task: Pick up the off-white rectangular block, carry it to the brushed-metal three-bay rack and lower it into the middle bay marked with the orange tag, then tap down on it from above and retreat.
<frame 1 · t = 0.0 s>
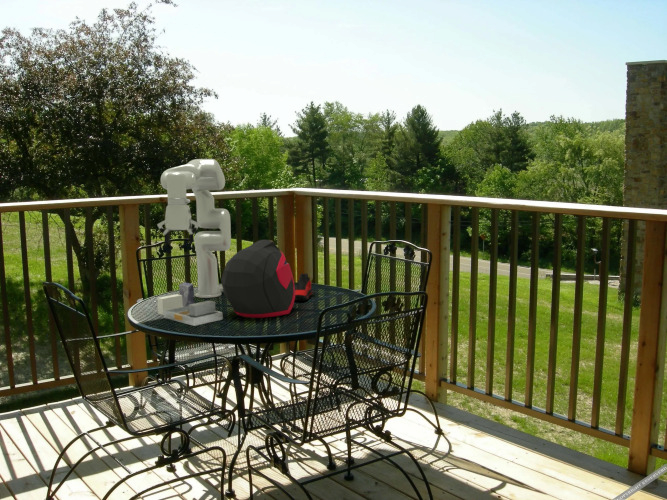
hand: (179, 243, 268), 31 cm above the table, tool pointing down, fingers open, 9 cm apart
athletic shoe: (302, 299, 307), on the table
rock: (185, 305, 296), on the table
rack: (192, 318, 270), on the table
helmet: (258, 313, 278), on the table
off-white rectangular block: (170, 312, 283), on the table
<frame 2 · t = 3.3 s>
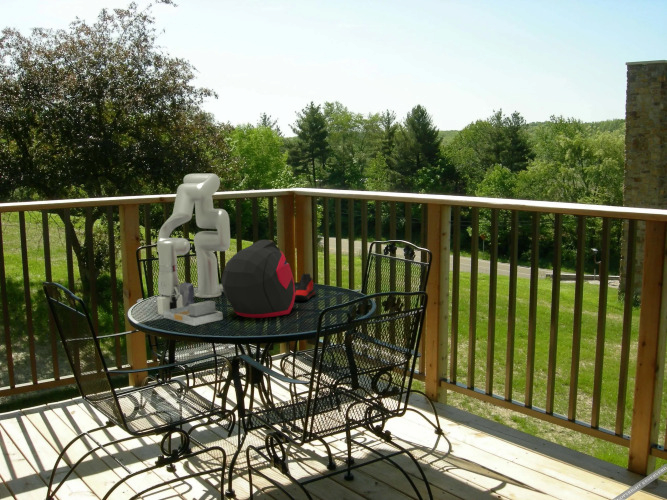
hand: (170, 309, 283), 1 cm above the table, tool pointing down, fingers closed on off-white rectangular block, 4 cm apart
off-white rectangular block: (170, 312, 283), on the table, touching gripper
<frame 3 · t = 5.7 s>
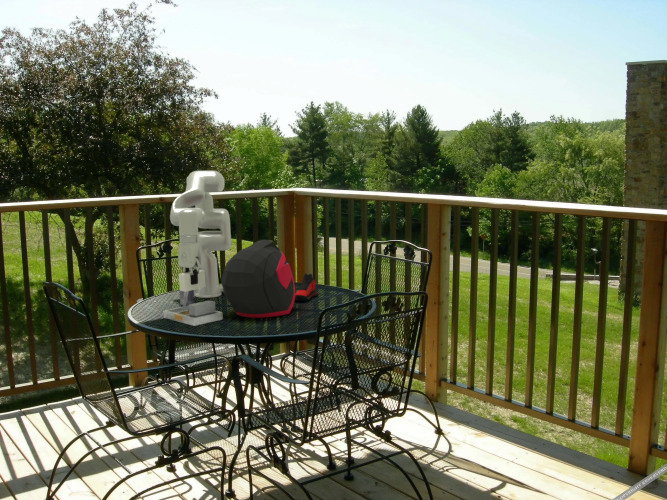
hand: (191, 283, 268), 15 cm above the table, tool pointing down, fingers closed on off-white rectangular block, 4 cm apart
off-white rectangular block: (192, 288, 269), point 12 cm above the table, touching gripper
when the fingers open (4 cm above the table, at t = 8.3 s): off-white rectangular block stays where it is, resting on rack.
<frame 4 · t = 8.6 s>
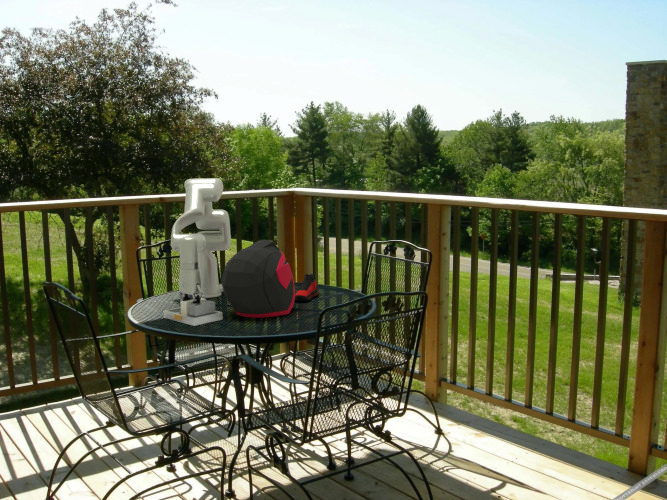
hand: (191, 308, 270), 4 cm above the table, tool pointing down, fingers open, 6 cm apart
off-white rectangular block: (194, 316, 270), point 1 cm above the table, touching rack
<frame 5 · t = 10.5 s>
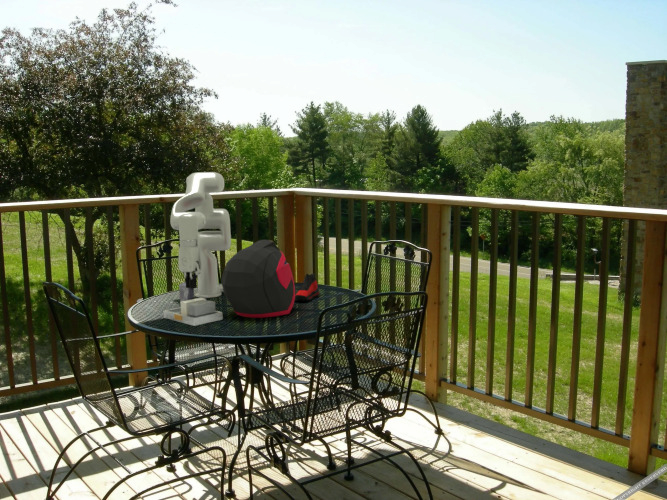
hand: (191, 287, 268), 13 cm above the table, tool pointing down, fingers closed
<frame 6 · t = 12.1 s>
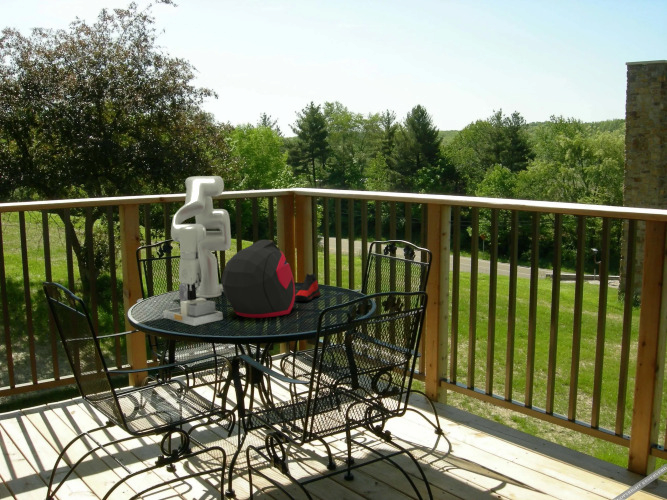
hand: (191, 299, 269), 8 cm above the table, tool pointing down, fingers closed
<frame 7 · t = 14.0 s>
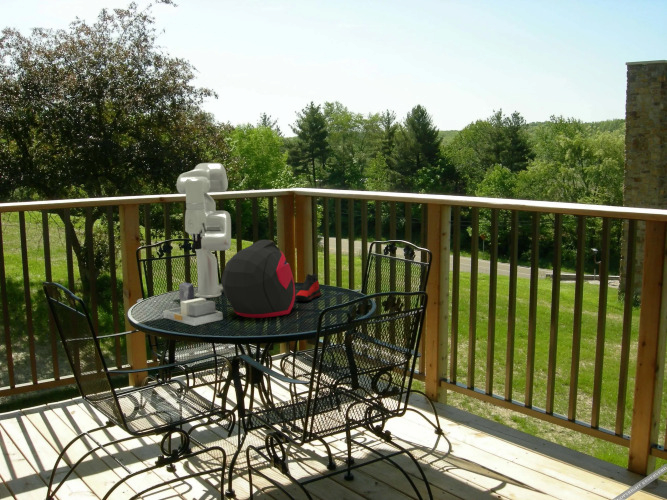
hand: (197, 248, 281), 27 cm above the table, tool pointing down, fingers closed
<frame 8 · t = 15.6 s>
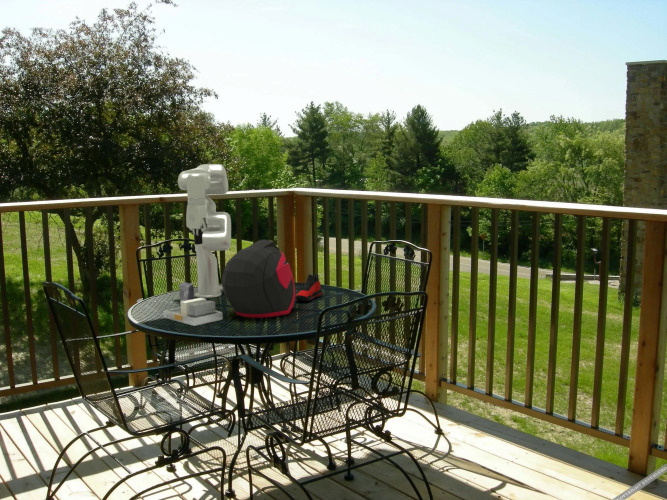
hand: (198, 244, 284), 29 cm above the table, tool pointing down, fingers closed
at the end: off-white rectangular block 0.7 cm off-centre on the rack, point 0.6 cm above the rack's base; off-white rectangular block tilted 0°; the gripper is holding nothing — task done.
